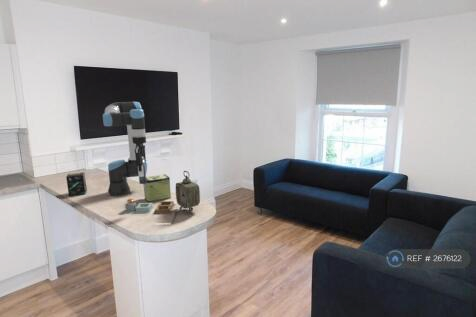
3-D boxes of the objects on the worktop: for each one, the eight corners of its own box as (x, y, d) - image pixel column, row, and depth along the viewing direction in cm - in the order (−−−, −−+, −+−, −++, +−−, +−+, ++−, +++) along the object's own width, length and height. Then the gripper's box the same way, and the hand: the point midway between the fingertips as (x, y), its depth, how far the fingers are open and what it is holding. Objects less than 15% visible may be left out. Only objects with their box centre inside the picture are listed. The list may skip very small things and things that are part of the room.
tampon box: (87, 190, 237) (84, 171, 234) (85, 194, 228) (83, 174, 225) (70, 192, 233) (68, 173, 230) (68, 196, 225) (65, 176, 222)
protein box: (171, 199, 213) (169, 177, 210) (148, 203, 206) (146, 180, 203) (166, 195, 222) (165, 173, 219) (144, 199, 215) (142, 177, 212)
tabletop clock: (176, 209, 195) (174, 169, 190) (189, 205, 200) (187, 167, 195) (188, 216, 184) (185, 174, 179) (201, 212, 189) (199, 171, 184)
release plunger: (128, 206, 194) (128, 199, 193) (135, 206, 194) (134, 199, 193) (126, 209, 190) (126, 201, 189) (133, 209, 190) (132, 201, 189)
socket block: (130, 208, 198) (129, 200, 197) (154, 207, 199) (153, 200, 198) (123, 215, 187) (123, 207, 186) (149, 214, 187) (149, 206, 186)
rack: (159, 205, 202) (159, 201, 201) (175, 205, 202) (175, 200, 201) (153, 215, 186) (153, 210, 185) (170, 214, 186) (170, 210, 185)
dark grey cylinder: (140, 182, 191) (138, 156, 187) (147, 182, 191) (145, 155, 187) (138, 184, 187) (136, 157, 184) (145, 183, 187) (143, 157, 184)
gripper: (136, 134, 191) (140, 172, 196) (127, 138, 175) (131, 179, 179) (149, 134, 191) (152, 171, 196) (141, 138, 175) (144, 179, 180)
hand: (142, 175), depth 188 cm, fingers closed on dark grey cylinder, 4 cm apart
